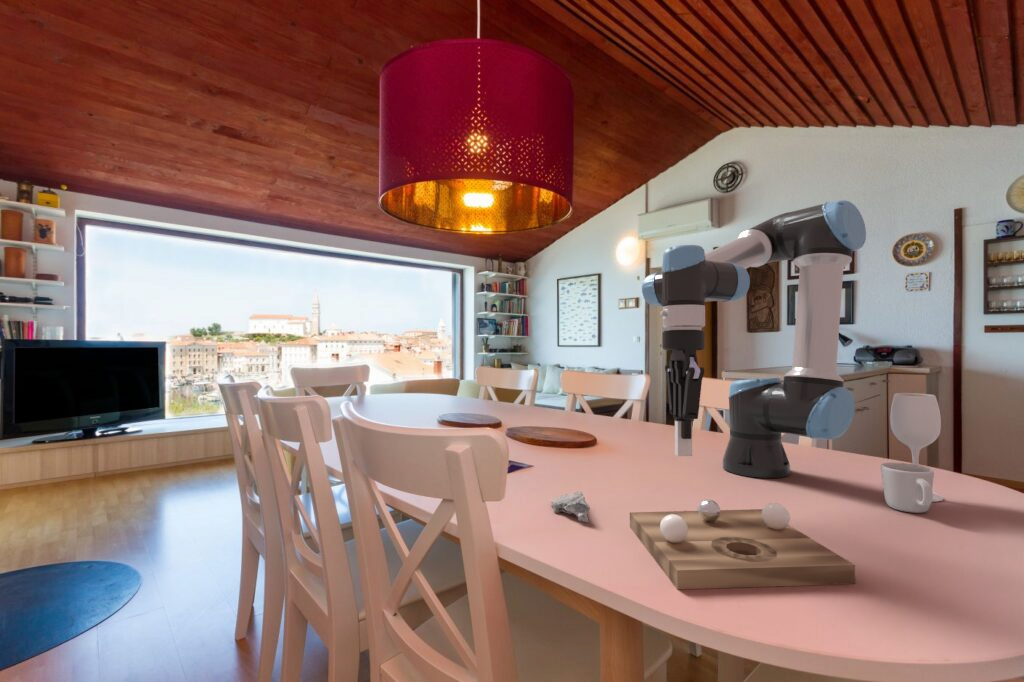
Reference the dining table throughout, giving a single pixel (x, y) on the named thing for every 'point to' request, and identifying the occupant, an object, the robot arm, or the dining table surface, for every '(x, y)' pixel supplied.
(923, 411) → the wineglass
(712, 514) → the steel ball
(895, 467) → the cup
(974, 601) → the dining table surface
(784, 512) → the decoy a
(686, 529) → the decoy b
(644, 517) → the board
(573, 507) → the stone
